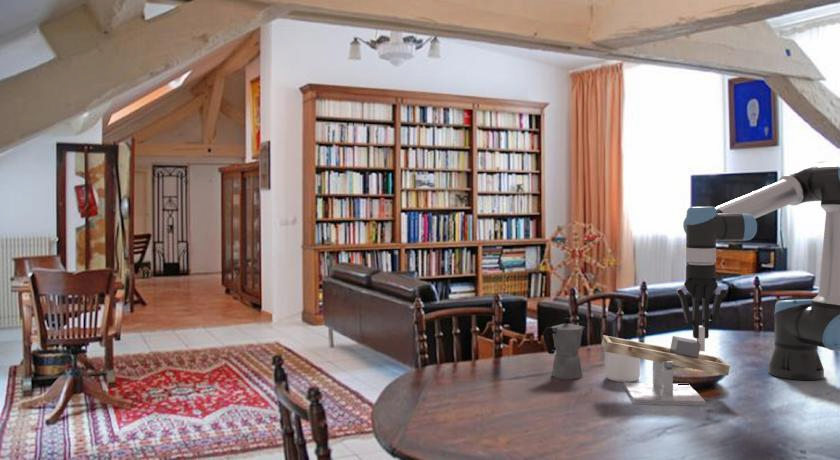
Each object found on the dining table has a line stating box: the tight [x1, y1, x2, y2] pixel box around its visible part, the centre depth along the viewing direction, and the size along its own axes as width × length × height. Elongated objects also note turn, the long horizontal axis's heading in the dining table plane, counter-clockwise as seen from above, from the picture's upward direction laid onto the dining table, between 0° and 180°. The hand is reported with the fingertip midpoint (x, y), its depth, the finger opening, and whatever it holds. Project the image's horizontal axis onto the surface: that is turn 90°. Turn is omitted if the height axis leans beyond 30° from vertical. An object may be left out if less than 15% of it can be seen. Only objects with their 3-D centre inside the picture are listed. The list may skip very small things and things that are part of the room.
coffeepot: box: [542, 317, 586, 380], centre depth 219 cm, size 15×9×18 cm, turn 116°
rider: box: [669, 335, 701, 359], centre depth 195 cm, size 6×6×5 cm
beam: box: [601, 334, 731, 376], centre depth 196 cm, size 32×11×4 cm, turn 83°
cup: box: [604, 350, 641, 383], centre depth 215 cm, size 10×10×10 cm
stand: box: [623, 360, 707, 407], centre depth 196 cm, size 18×18×11 cm
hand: (700, 350), depth 194 cm, fingers closed
